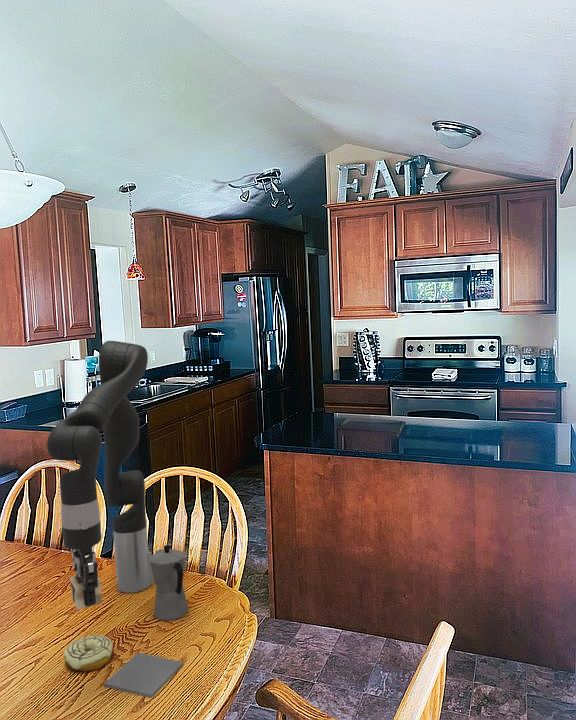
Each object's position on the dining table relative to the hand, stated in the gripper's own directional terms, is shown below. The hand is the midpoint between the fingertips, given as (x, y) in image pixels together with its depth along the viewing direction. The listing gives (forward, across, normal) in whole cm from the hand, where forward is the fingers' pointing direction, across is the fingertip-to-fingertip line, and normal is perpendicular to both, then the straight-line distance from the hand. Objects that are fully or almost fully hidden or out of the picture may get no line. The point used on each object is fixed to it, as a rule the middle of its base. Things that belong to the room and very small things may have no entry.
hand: (87, 598), depth 131 cm
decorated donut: (+20, -10, +1) cm, 22 cm away
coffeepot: (+19, -19, +24) cm, 37 cm away
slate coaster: (+19, +3, +10) cm, 22 cm away
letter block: (0, 0, 0) cm, 0 cm away
